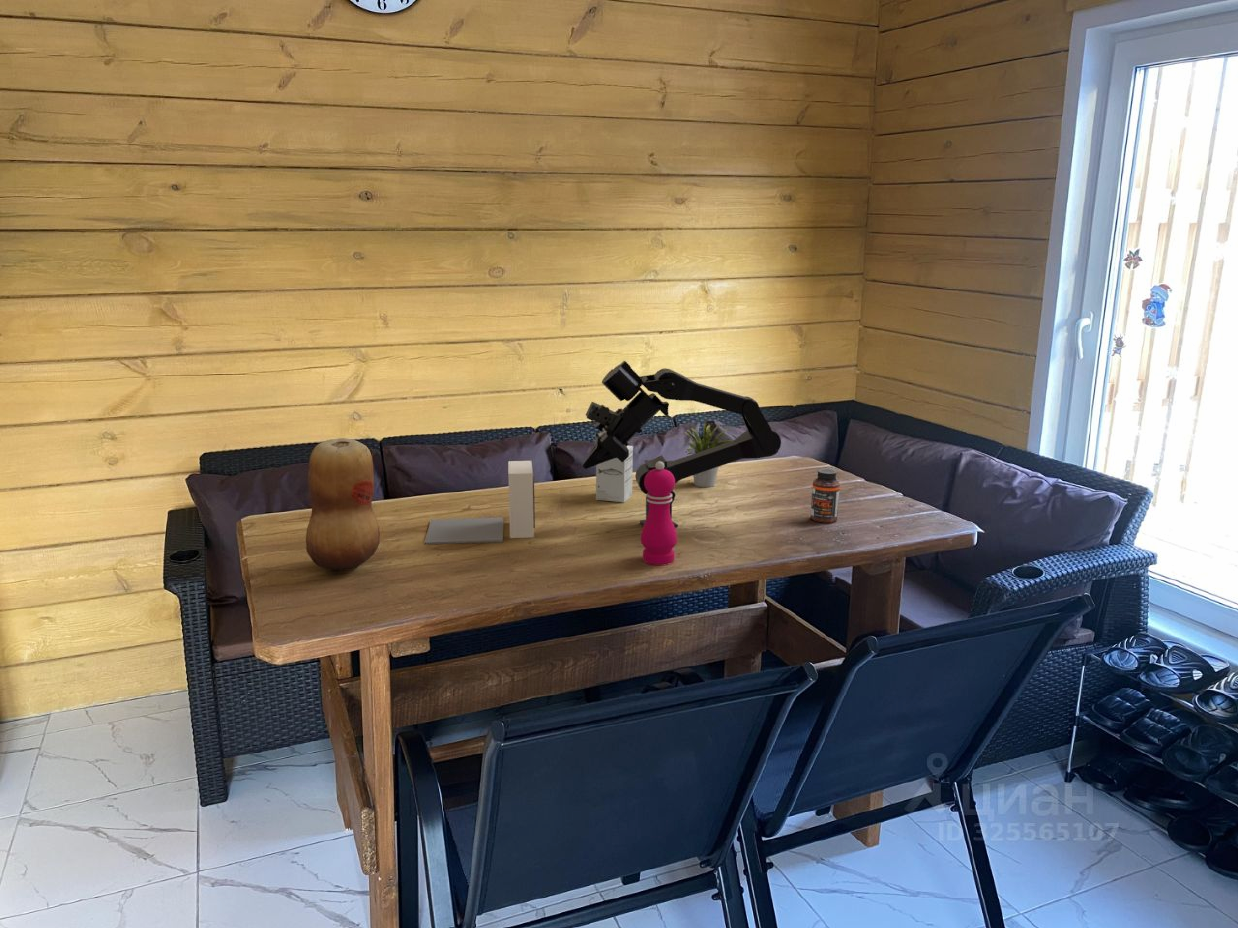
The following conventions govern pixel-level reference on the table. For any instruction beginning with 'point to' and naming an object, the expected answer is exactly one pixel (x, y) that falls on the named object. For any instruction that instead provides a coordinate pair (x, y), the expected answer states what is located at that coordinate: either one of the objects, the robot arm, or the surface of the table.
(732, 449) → the robot arm
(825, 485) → the supplement bottle
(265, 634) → the table surface
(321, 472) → the butternut squash
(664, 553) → the pepper mill
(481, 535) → the mat
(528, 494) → the picture frame
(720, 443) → the house plant
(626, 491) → the supplement box
